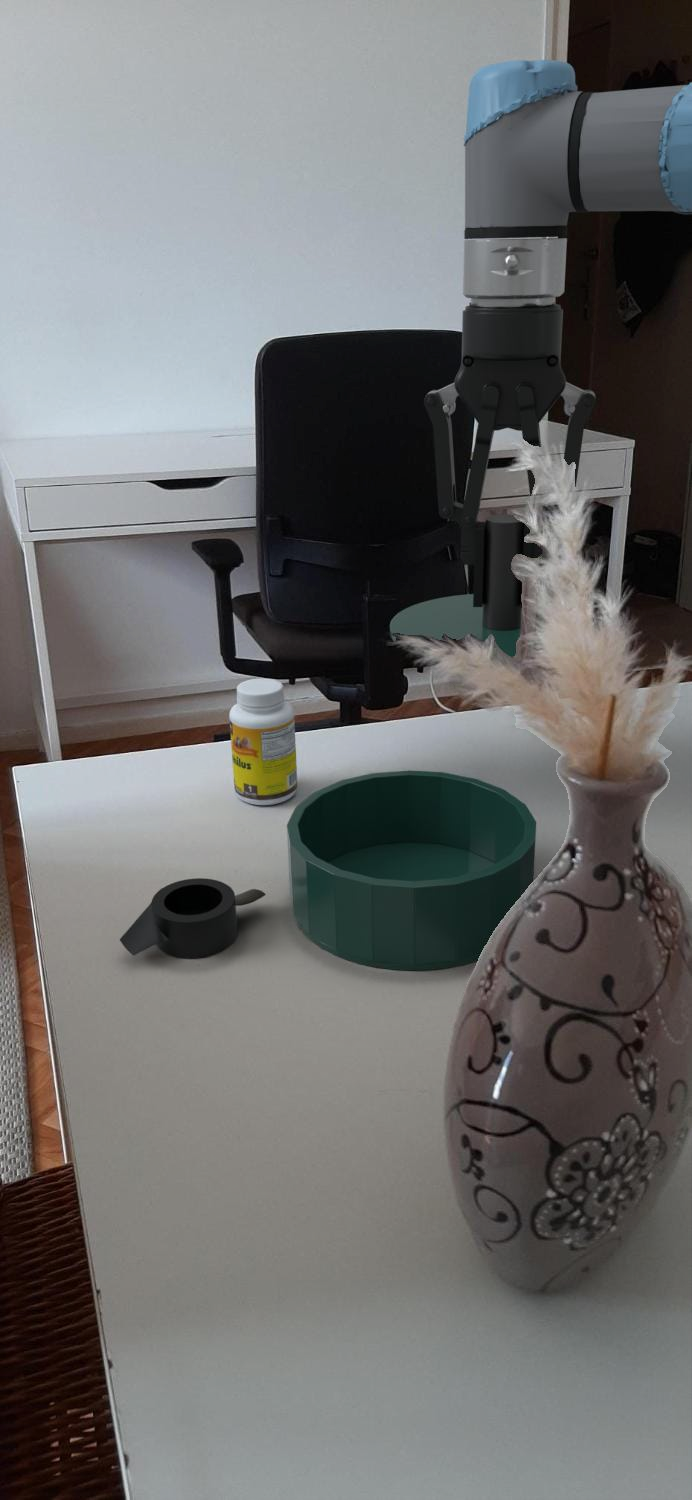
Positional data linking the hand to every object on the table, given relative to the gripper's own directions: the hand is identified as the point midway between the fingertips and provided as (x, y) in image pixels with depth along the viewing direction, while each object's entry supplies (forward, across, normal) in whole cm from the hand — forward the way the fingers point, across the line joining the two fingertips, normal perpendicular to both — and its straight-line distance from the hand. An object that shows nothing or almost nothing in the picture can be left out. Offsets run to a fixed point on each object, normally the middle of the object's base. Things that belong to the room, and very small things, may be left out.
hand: (502, 602), depth 96 cm
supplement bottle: (+17, -20, -5) cm, 27 cm away
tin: (+17, -5, -21) cm, 27 cm away
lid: (+3, 0, 0) cm, 3 cm away
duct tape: (+17, -19, -28) cm, 38 cm away
